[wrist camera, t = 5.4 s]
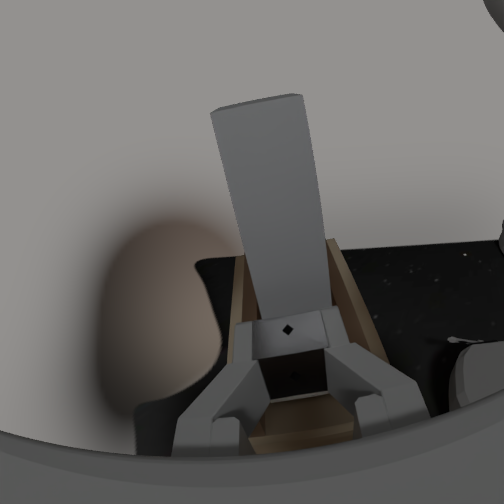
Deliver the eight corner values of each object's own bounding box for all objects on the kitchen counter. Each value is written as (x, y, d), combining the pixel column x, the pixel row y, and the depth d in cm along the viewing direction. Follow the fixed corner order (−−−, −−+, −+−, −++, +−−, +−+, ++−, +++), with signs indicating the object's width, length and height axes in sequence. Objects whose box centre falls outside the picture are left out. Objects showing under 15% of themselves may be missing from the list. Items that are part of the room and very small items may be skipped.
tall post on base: (336, 340, 20) (304, 90, 13) (349, 389, 16) (323, 91, 9) (268, 352, 20) (205, 110, 13) (270, 402, 17) (188, 118, 10)
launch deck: (340, 307, 36) (332, 220, 31) (387, 467, 19) (411, 386, 13) (254, 323, 37) (231, 239, 32) (255, 489, 20) (210, 421, 14)
